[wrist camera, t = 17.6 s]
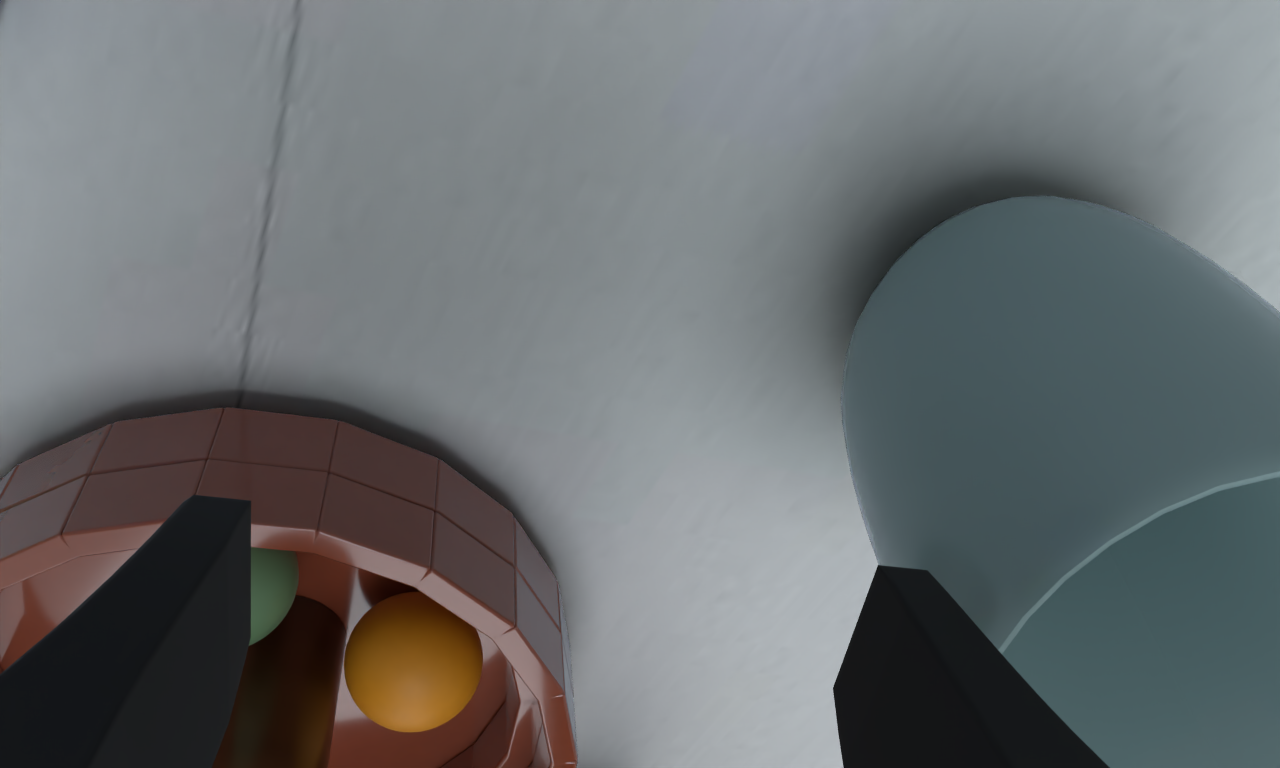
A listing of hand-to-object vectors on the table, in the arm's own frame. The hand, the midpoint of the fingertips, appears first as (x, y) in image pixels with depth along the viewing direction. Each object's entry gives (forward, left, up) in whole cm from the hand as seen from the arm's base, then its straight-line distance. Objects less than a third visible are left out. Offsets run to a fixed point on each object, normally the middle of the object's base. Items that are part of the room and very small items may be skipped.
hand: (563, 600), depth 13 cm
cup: (+9, +2, -11) cm, 14 cm away
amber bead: (+2, -10, -8) cm, 13 cm away
